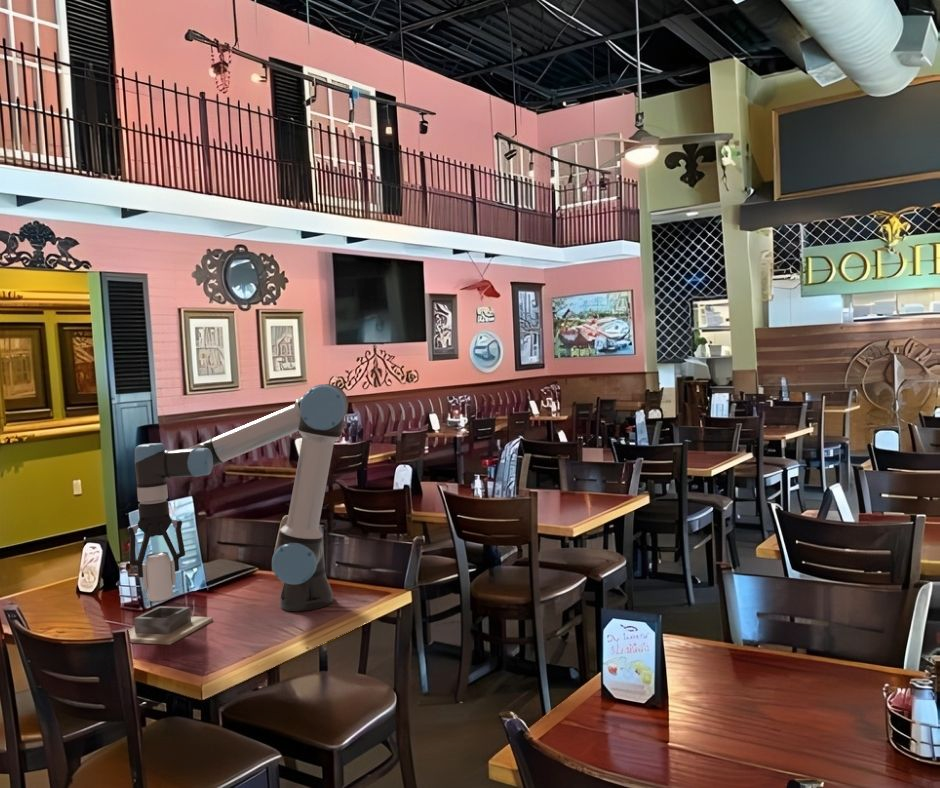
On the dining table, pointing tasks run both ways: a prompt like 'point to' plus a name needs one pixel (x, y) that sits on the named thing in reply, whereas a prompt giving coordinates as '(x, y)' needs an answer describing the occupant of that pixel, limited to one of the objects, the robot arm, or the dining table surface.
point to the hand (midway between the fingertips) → (159, 586)
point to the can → (159, 577)
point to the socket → (165, 625)
